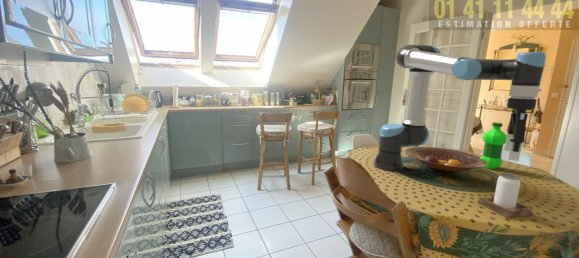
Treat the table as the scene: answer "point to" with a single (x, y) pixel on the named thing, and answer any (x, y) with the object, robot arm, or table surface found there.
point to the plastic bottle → (493, 146)
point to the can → (507, 191)
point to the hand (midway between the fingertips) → (510, 155)
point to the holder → (517, 212)
